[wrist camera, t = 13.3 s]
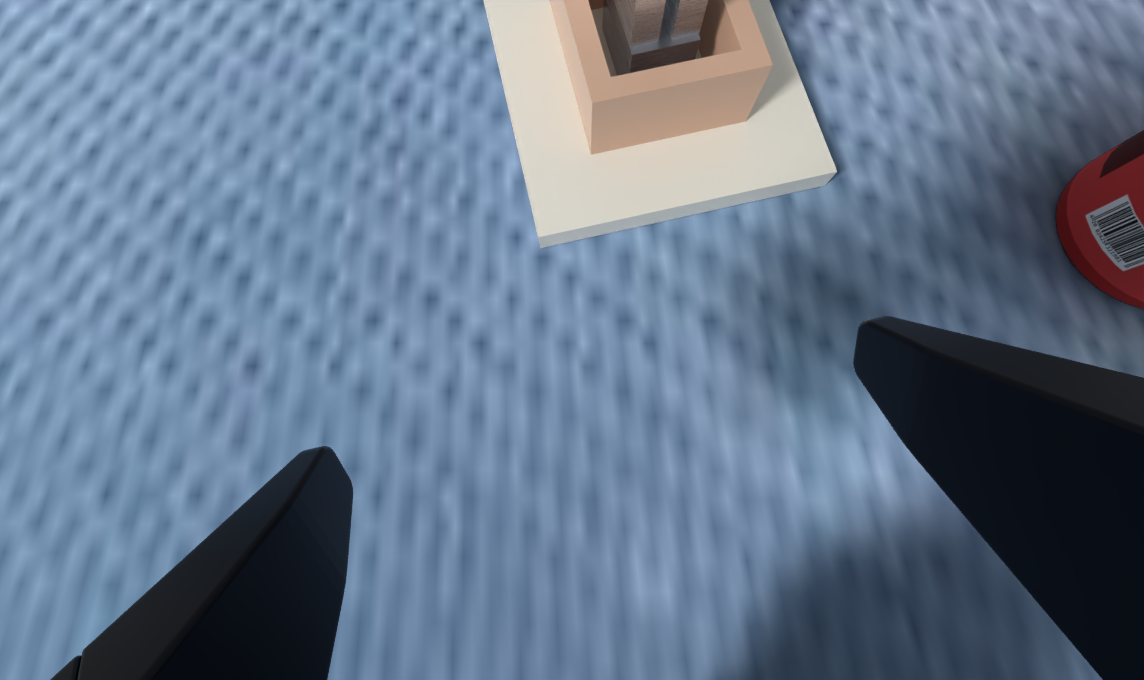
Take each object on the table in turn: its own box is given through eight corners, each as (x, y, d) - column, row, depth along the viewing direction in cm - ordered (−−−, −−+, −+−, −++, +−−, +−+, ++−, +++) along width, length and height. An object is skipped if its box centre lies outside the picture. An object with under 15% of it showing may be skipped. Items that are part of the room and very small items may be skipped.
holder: (825, 185, 24) (881, 121, 20) (540, 248, 24) (530, 197, 19) (727, -68, 28) (755, -171, 23) (479, -18, 27) (458, -114, 23)
